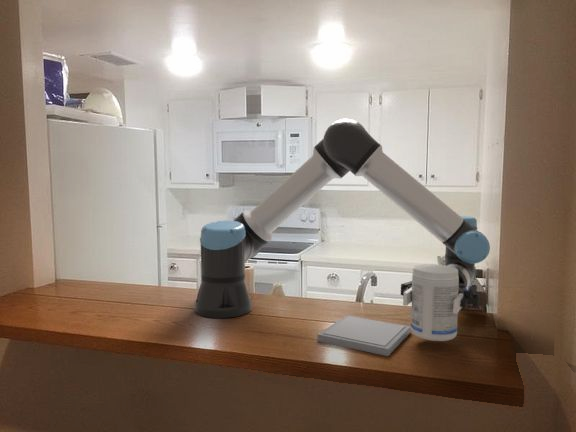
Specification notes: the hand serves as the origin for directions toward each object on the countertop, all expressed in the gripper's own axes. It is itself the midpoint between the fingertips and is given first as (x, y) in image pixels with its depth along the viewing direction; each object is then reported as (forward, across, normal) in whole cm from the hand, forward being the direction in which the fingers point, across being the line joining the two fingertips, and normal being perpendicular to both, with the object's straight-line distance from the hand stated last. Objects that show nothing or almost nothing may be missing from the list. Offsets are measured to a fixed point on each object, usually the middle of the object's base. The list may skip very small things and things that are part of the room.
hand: (429, 303), depth 94 cm
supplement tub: (-4, 0, -8) cm, 9 cm away
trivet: (0, +14, -10) cm, 17 cm away
